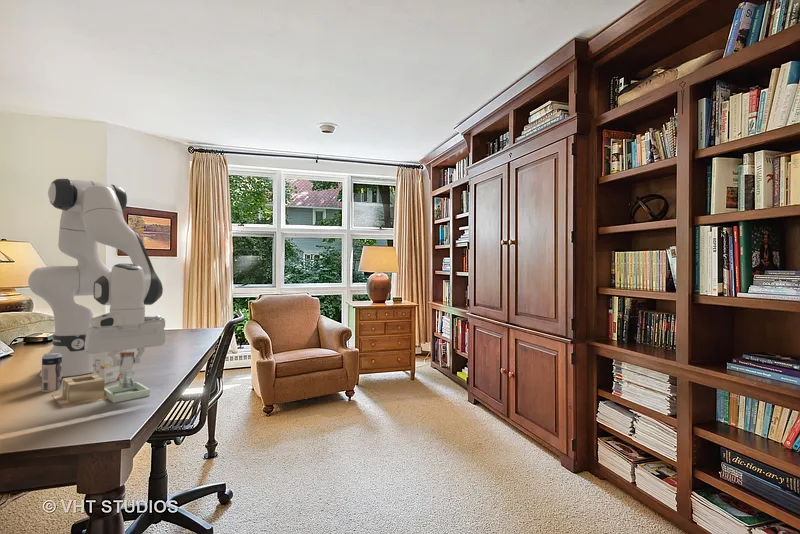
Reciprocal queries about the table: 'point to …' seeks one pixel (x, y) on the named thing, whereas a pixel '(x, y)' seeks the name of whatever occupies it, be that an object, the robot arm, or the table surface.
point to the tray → (126, 396)
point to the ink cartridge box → (106, 366)
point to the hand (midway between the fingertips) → (126, 364)
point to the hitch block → (81, 390)
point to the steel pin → (126, 370)
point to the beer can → (51, 372)
